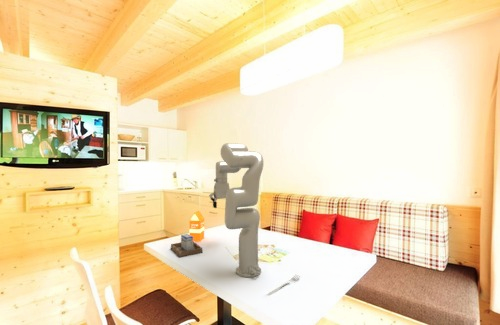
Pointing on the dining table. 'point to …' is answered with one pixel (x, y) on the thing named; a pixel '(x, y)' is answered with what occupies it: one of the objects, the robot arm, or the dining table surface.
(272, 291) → the fork
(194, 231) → the orange juice
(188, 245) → the medicine box
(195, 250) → the walnut tray
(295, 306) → the dining table surface
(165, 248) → the dining table surface
